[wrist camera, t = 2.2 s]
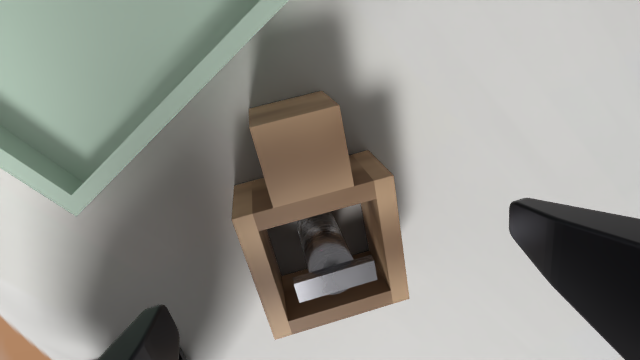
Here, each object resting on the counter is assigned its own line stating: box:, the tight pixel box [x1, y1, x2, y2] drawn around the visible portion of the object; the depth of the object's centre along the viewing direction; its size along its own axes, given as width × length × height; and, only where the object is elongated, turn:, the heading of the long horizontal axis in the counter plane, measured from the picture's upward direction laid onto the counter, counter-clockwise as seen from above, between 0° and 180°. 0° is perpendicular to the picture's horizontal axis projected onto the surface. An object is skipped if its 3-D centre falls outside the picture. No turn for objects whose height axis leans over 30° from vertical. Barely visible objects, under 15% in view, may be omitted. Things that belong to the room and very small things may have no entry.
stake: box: [293, 212, 377, 303], centre depth 20 cm, size 2×4×6 cm, turn 102°
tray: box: [0, 0, 289, 217], centre depth 15 cm, size 15×11×2 cm
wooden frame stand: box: [232, 91, 409, 340], centre depth 20 cm, size 12×8×4 cm, turn 12°
